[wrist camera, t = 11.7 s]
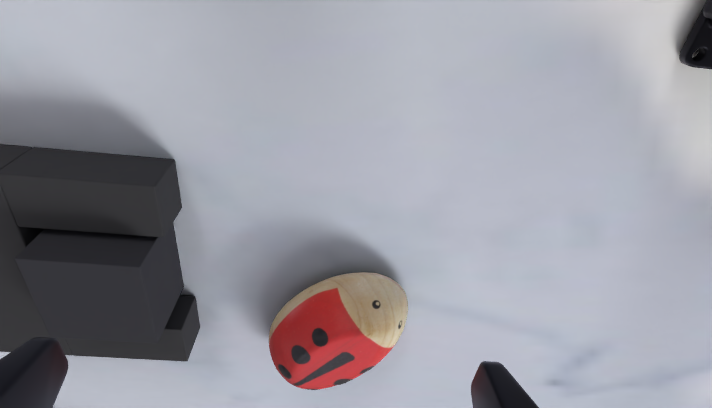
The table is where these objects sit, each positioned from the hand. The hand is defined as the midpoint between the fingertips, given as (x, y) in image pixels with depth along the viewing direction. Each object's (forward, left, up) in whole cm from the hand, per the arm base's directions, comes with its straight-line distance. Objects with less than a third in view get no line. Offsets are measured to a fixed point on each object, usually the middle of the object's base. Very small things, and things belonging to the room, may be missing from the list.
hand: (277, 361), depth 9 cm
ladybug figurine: (-2, +12, -12) cm, 17 cm away
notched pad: (+12, +8, -12) cm, 19 cm away
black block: (+10, +8, -12) cm, 17 cm away
